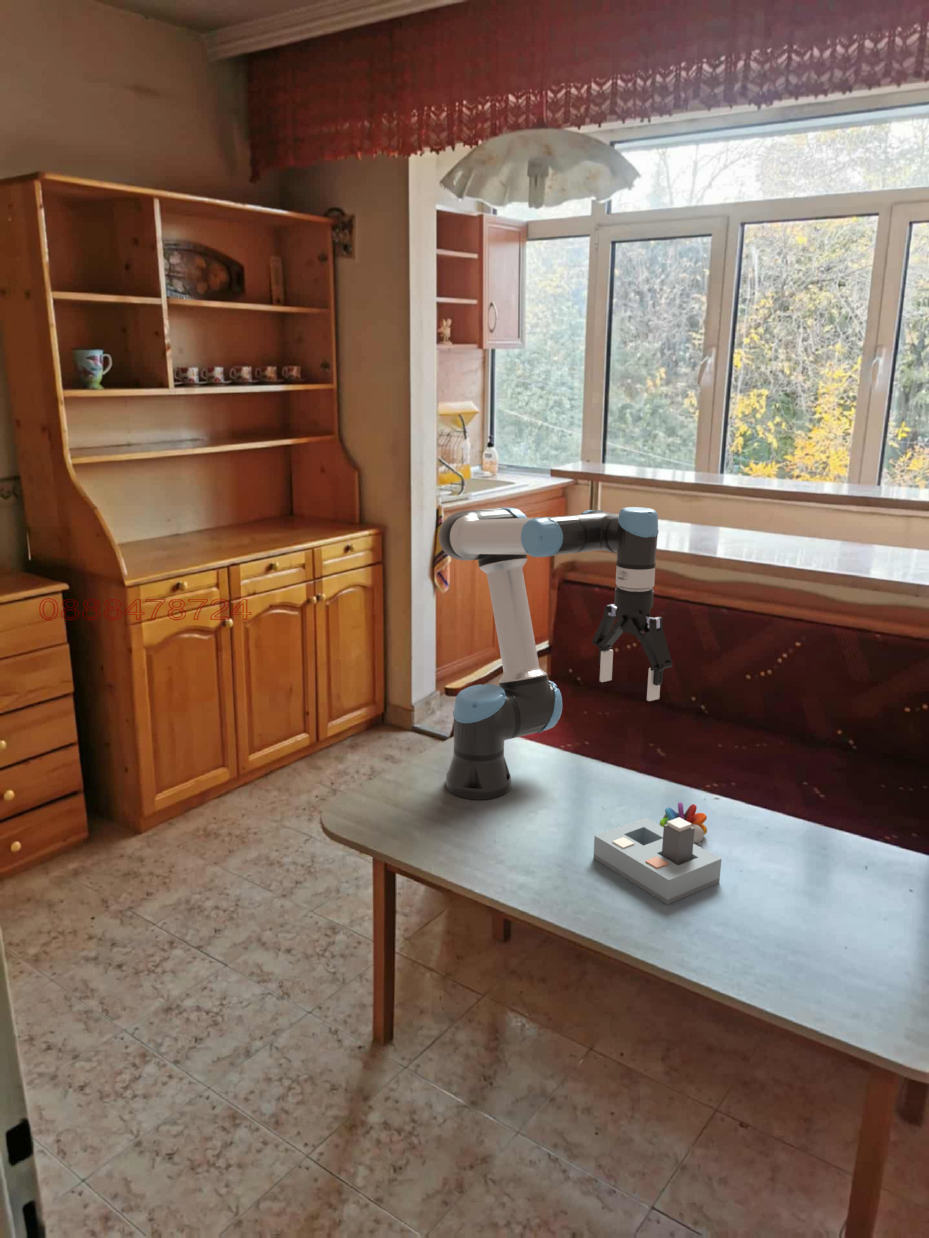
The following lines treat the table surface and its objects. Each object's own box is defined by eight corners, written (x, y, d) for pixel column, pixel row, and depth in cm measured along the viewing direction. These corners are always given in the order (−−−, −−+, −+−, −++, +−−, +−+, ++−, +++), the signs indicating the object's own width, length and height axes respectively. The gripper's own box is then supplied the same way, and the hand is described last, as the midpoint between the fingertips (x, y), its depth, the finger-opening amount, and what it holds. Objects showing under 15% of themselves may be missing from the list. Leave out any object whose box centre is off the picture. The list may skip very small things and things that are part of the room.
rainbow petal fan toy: (707, 847, 191) (710, 815, 189) (659, 842, 192) (661, 810, 191) (705, 828, 199) (707, 797, 197) (658, 823, 201) (660, 792, 199)
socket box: (593, 858, 186) (594, 834, 184) (644, 839, 193) (645, 816, 192) (667, 904, 170) (669, 878, 168) (719, 882, 177) (721, 857, 176)
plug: (660, 872, 179) (664, 821, 176) (675, 866, 181) (679, 815, 178) (675, 881, 176) (679, 829, 173) (690, 875, 178) (694, 823, 175)
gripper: (578, 577, 191) (573, 676, 196) (667, 602, 171) (660, 711, 176) (605, 573, 195) (600, 670, 200) (696, 597, 175) (688, 704, 180)
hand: (628, 690), depth 188 cm, fingers open, 13 cm apart
